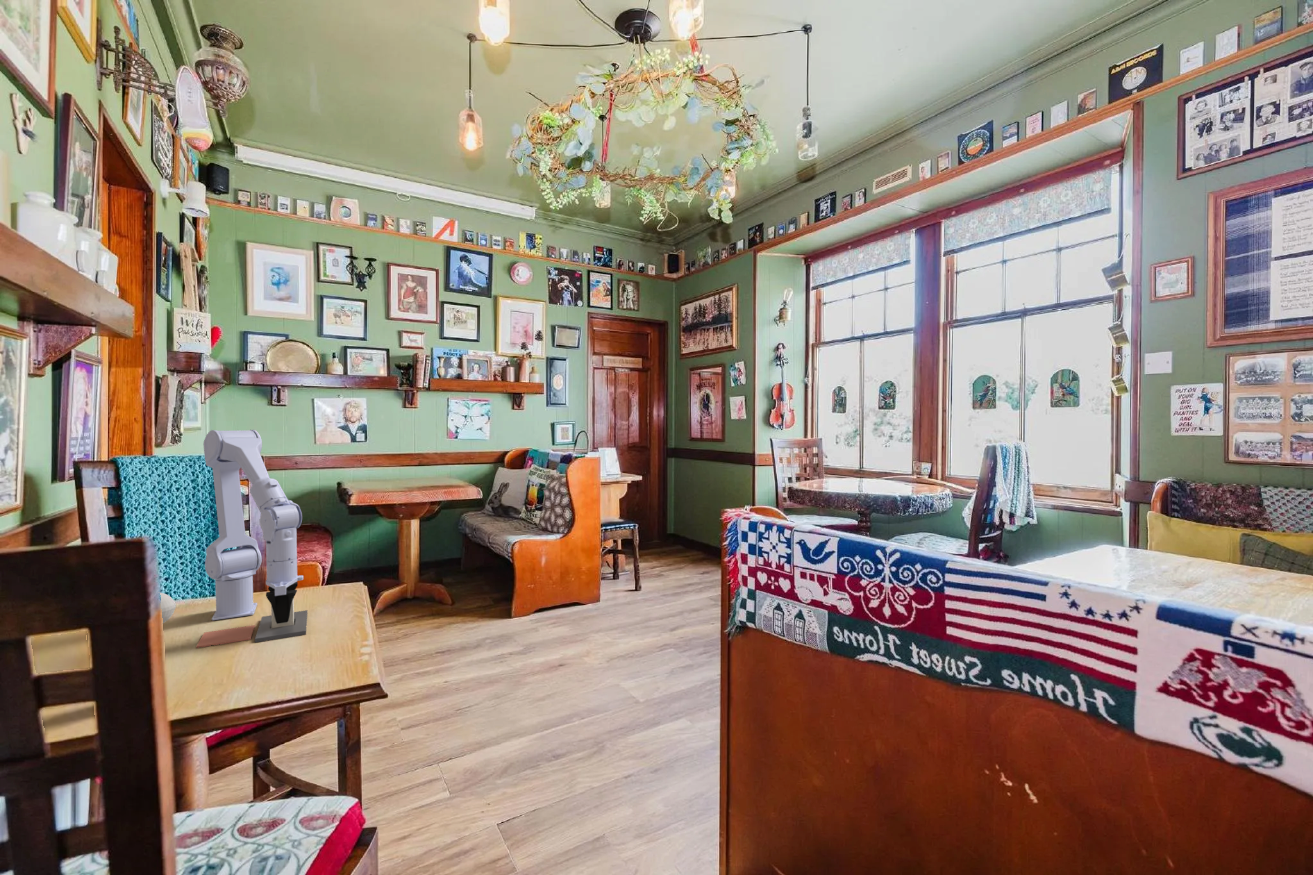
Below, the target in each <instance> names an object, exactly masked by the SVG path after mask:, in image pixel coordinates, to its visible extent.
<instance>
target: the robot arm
mask: <svg viewBox="0 0 1313 875" xmlns="http://www.w3.org/2000/svg"><path fill="white" fill-rule="evenodd" d="M262 448H263V440H262V437H261V435H260V433H259V432H258V431H257V430H256V429H249V430H247V429H246V430H239V429H237V430H217V429H211V430H209V432H208V433H206V435H205V438H204V439H203V454H204V455H203V456H204V460H205V465H206V466H207V467H210V468H212V475H213V486H214V494H215V505H216V514H217V515H216V516H217V524H218V525H217V526H218V535H219V537H217V539H215V540H214V541H213V542H212V543H211V544H210V545H208V546H207V548H206V550H205V552H206V553H205V554H206V555H205V556H206V558H205V562H204V569H205V572H206V574H207V576H208V577H209V578H211V579H212V580H215V582H214V583H215V612H214V614H213V615H212V618H211V620H212V621H219V620H225V619H231V618H240V617H246V616H253V615H254V614H255V612H256V609H257V607H258V602H254V582H253V580H254V577H253V575H256V574H257V571H258V570H259V569H260V567H261V565H262V561H263V560H262V559H263V556H262V553H261V551H260V548H259V545H258V540H257V539H255V538H253V537H252V536H249V535H247V534H246V528H245V526H246V525H245V518H244V509H243V508H244V506H243V498H242V490H241V480H240V479H241V478H240V469H241V470H242V471H243V473H244V474H245V475H246V477H247V479H248V480H249V482H250V483H251V484H252V485H251V487H250V489H249V493H250V494H251V497H252V500H254V503H255V505H256V506H257V508H258V510H259V512H260V516H259V525H260V528H261V531H262V538H263V541H265V544H266V545H265V552H266V556H265V557H266V558H265V559H266V562H265V563H266V580H265V585H266V586H268V591H266V593H265V596H266V599H267V600H268V601H269V603H270V606H272V608H273V612H274V616H275V620H276V623H277V624H278V623H285V622H288V620H289V616H290V609H291V604H292V601H293V598H294V599H295V596H296V594H297V592H298V589H297V587H298V585H299V582H298V581H303V580H304V575H298V552H297V551H298V548H297V547H298V545H297V539H298V538H297V535H298V534H297V529H299V528H300V527H301V525H302V521H303V513H302V510H301V507H300V505H299V504H297V503H295V502H293V500H290V499H289V498H288V497H287V496H286V493H285V492H284V490H283V488H282V487H281V486H282V485H281V484H280V483H279V481H278V480H277V479H275V478H270V475H269V473H268V471H267V468H266V466H265V463H264V460H263V457H262V456H261V453H262ZM237 547H239V548H237ZM231 548H233V549H231ZM226 549H227V550H226Z"/></svg>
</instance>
